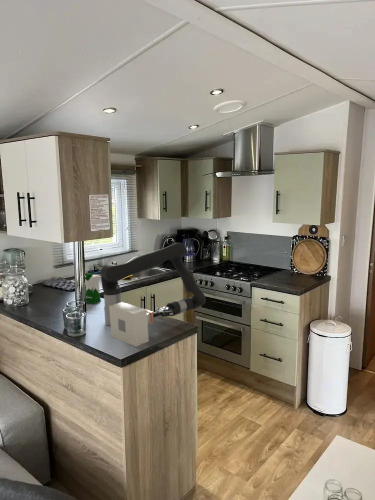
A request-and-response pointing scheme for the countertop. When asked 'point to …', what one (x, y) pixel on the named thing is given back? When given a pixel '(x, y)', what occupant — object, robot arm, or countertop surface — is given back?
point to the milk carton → (92, 288)
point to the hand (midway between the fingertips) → (152, 315)
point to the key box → (129, 323)
